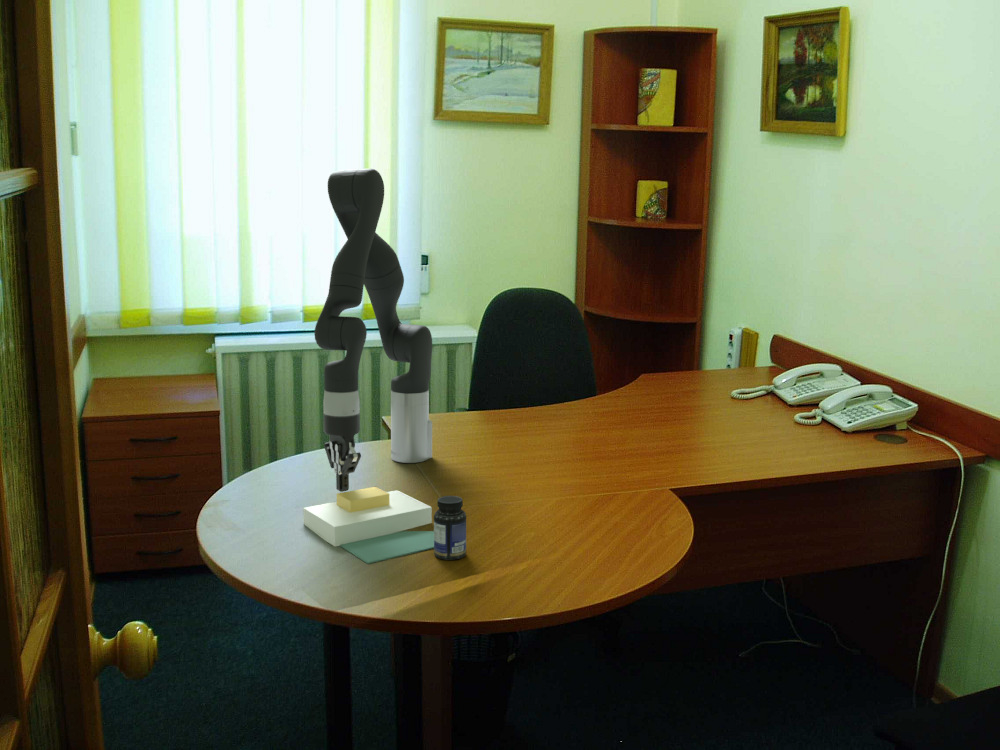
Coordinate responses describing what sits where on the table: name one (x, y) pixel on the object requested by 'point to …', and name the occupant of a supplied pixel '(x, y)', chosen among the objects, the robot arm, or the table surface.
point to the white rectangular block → (366, 519)
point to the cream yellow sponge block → (362, 499)
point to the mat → (391, 545)
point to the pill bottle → (450, 529)
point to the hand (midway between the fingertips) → (342, 490)
